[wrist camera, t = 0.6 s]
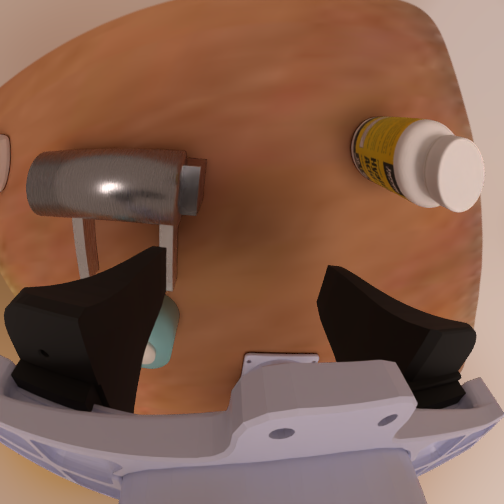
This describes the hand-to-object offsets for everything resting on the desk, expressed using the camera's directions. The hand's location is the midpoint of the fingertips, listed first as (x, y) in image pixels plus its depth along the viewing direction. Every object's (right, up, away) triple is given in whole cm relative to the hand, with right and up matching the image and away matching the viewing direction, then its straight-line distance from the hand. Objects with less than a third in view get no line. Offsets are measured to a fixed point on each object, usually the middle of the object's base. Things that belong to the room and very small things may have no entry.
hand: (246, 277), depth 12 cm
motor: (-10, +4, +8) cm, 13 cm away
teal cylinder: (-9, -4, +12) cm, 16 cm away
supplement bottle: (+10, +9, +7) cm, 16 cm away
